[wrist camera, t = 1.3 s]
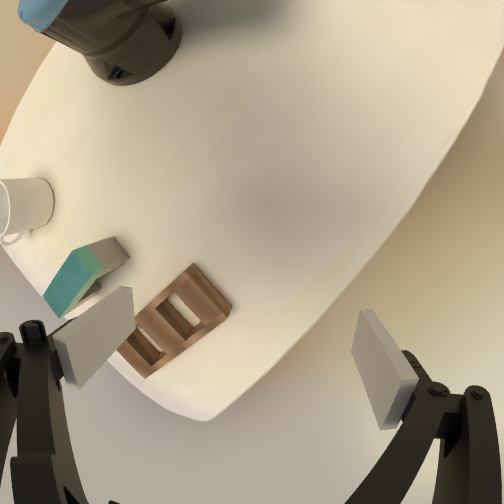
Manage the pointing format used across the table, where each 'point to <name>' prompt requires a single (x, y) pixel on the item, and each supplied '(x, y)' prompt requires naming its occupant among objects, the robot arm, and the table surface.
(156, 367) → the brown wooden frame
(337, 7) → the table surface
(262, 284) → the table surface
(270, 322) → the table surface
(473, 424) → the robot arm
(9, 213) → the mug
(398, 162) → the table surface
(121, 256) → the tall teal block
